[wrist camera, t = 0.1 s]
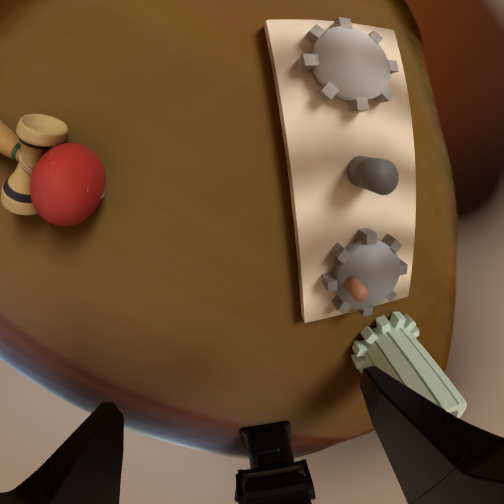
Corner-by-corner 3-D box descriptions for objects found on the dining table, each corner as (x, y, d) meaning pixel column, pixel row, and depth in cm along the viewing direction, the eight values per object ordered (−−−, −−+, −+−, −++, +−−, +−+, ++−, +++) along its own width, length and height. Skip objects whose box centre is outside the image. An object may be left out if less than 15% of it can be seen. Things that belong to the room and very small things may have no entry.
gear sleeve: (405, 356, 29) (456, 429, 17) (348, 375, 29) (389, 463, 17) (417, 303, 26) (488, 378, 14) (353, 322, 26) (415, 421, 14)
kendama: (-13, 163, 17) (92, 248, 20) (-52, 158, 11) (47, 262, 13) (17, 96, 17) (135, 161, 19) (-19, 80, 10) (99, 143, 13)
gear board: (402, 290, 25) (426, 314, 21) (301, 315, 25) (315, 348, 21) (387, 34, 16) (416, 19, 12) (263, 26, 16) (273, -1, 11)
